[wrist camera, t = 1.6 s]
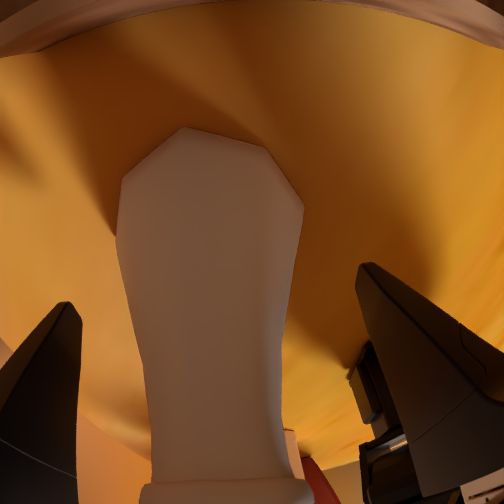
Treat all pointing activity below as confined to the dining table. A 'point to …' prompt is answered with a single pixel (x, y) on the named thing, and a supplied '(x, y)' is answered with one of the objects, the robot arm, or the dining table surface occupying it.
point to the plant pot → (318, 483)
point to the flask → (211, 316)
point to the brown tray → (136, 3)
